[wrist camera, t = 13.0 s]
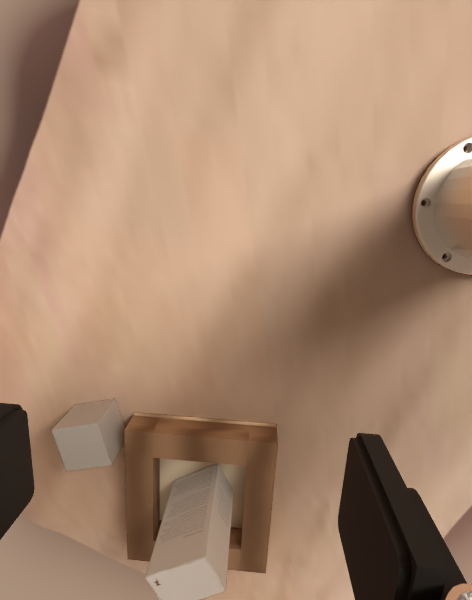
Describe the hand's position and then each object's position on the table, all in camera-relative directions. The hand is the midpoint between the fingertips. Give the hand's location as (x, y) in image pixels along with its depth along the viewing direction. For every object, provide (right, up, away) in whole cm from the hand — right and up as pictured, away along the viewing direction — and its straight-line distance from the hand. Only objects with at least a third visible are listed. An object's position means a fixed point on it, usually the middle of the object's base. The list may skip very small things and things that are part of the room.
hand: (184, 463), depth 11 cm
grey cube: (-14, -9, +33) cm, 37 cm away
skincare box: (-2, -17, +33) cm, 37 cm away
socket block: (-3, -17, +34) cm, 38 cm away
